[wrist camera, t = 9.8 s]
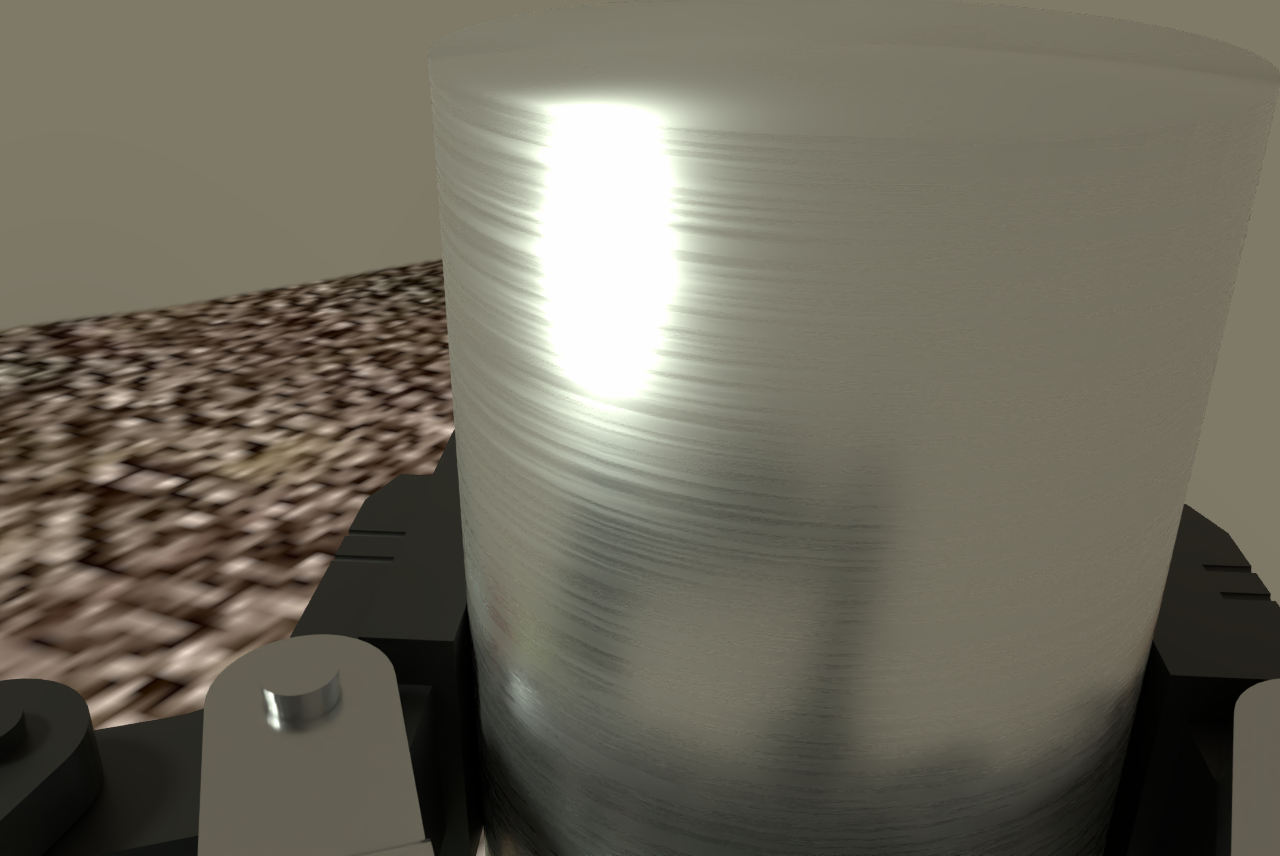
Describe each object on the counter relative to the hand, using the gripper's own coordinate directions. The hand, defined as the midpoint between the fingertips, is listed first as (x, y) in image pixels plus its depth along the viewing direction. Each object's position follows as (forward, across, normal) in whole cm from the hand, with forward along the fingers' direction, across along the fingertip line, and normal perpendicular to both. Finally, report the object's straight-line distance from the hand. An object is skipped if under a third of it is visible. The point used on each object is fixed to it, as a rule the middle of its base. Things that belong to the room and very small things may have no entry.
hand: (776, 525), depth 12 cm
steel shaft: (-3, 0, +8) cm, 8 cm away
